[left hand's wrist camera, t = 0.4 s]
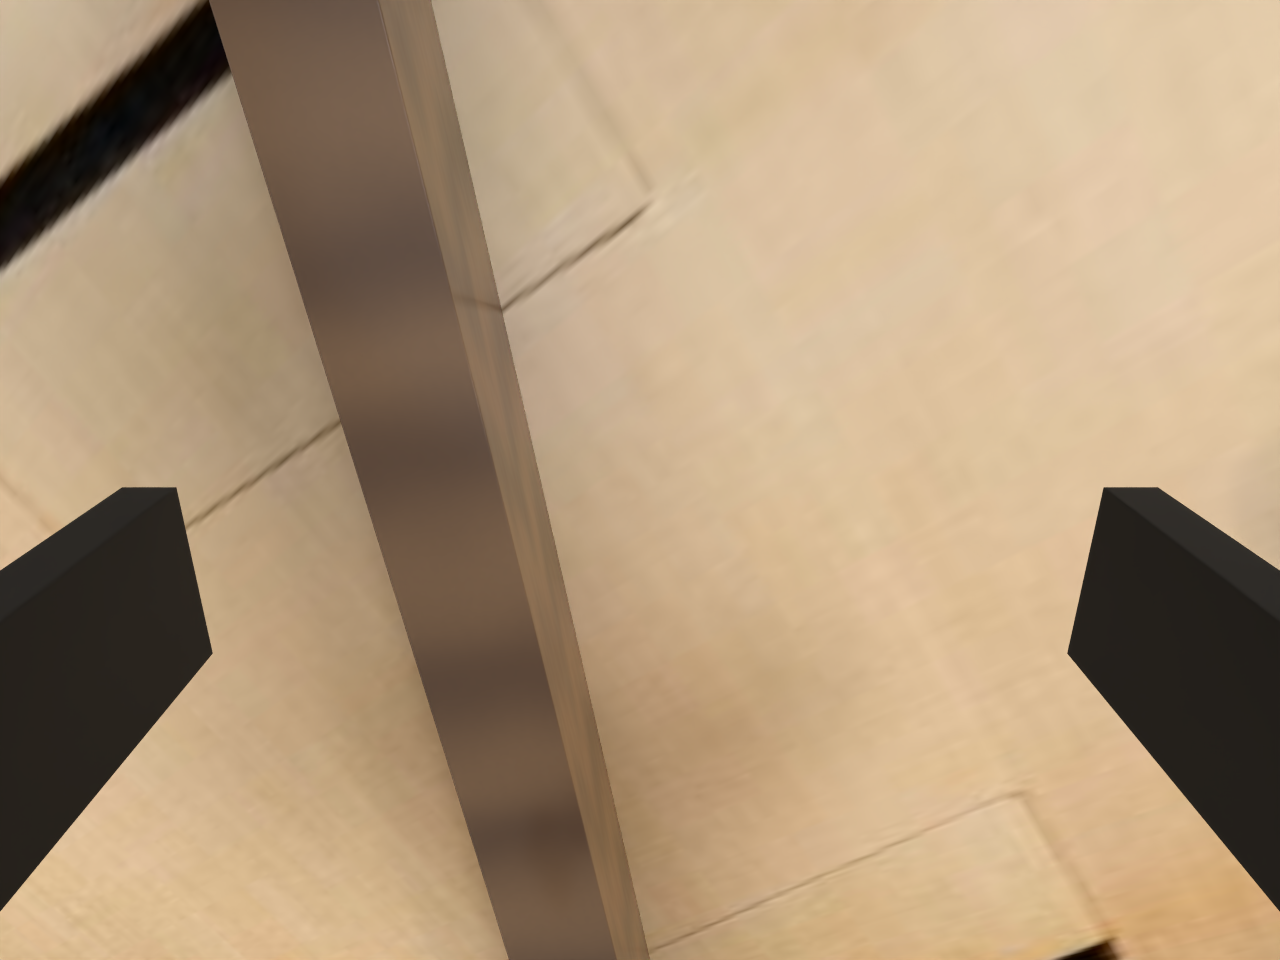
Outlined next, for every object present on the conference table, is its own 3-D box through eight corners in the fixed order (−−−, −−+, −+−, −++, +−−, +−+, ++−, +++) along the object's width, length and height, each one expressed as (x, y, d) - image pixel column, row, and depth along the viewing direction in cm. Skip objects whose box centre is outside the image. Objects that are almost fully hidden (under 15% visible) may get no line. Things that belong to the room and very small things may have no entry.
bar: (192, -376, 29) (33, -559, 21) (337, -409, 28) (228, -607, 21) (602, 1092, 56) (596, 1240, 48) (678, 1083, 55) (684, 1231, 48)
